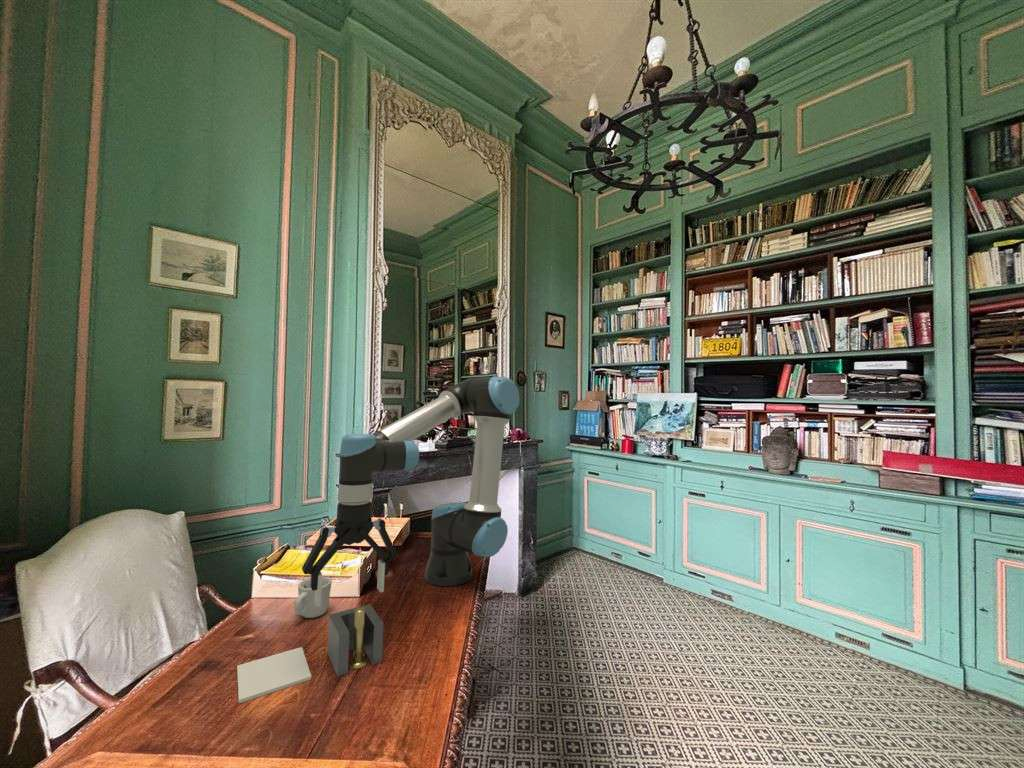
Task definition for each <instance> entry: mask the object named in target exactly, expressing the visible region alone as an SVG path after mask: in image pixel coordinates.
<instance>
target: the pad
mask: <svg viewBox="0 0 1024 768" xmlns="http://www.w3.org/2000/svg"><path fill="white" fill-rule="evenodd" d="M236 670H237V671H236V673H237V676H236V677H237V695H238V696H237V698H238V704H241V703H245V702H247V701H251V700H253V699H256V698H259V697H263V696H265V695H268V694H271V693H274V692H277V691H280V690H283V689H284V690H285V689H287V688H290V687H293V686H296V685H298V684H301V683H305V682H308V681H310V680H312V674H311V671H310V668H309V664H308V662H307V659H306V656H305V651H304V648H303V647H302V646H300V647H298V648H297V647H296V648H294V649H289V650H286V651H283V652H281V653H280V652H279V653H277V654H273V655H269V656H266V657H263V658H259V659H255V660H252V661H248V662H245V663H242V664H237V666H236Z"/></svg>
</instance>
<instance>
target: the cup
mask: <svg viewBox="0 0 1024 768" xmlns="http://www.w3.org/2000/svg"><path fill="white" fill-rule="evenodd" d="M332 583H333V582H332V579H331V578H330V577H329V576H323V575H322V591H321V606H320V607H317V606H316V604H315V590H314V591H312V589H311V587H310V584H311V577H308V578H305V579H303V580H302V581H300V582H299V583H298V585H297V592H298V593H297V594H298V596H297V597H296V599H295V602H294V606H293V607H294V609H293V610H294V613H295V614H296V615H299V616H301V617H303V618H305V619H314V618H318V617H320V616H322V615H324V614H325V613H326V612H327V611H328V608H329V603H330V602H329V601H330V595H331V590H332V589H331V588H332Z"/></svg>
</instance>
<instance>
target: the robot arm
mask: <svg viewBox="0 0 1024 768" xmlns="http://www.w3.org/2000/svg"><path fill="white" fill-rule="evenodd" d="M519 406H520V392H519V389H518V387H517V386H516V383H515V382H514V381H513V380H512V379H511V378H509V377H507V376H499V375H498V376H497V375H496V376H484V377H471V378H467V379H464V380H462V381H460V382H458V383H456V384H454V385H452V386H450V387H449V388H447V389H445V390H443V391H441V392H440V393H439V396H438V397H437V398H435V399H433V400H432V401H430V402H428V403H426V404H424V405H423V406H420V407H419V408H417V409H416V410H414V411H412V412H410V413H408V414H406V415H405V416H402V417H401V418H399V419H398V420H395V421H393V422H392V423H390V424H388V425H386V426H385V427H383V428H381V429H379V430H378V431H376V432H373V433H347V434H345V435H344V436H343V437H342V438H341V443H340V449H339V473H338V474H339V475H338V479H339V480H338V491H337V492H338V493H337V501H338V503H337V505H336V508H337V509H336V522H335V524H334V526H327V525H325V524H323V525H322V526H320V530H319V536H318V538H317V539H316V541H315V543H314V545H313V547H312V549H311V550H310V553H309V554H308V555H307V557H306V560H305V561H304V563H303V565H302V567H301V570H302V573H303V574H304V575H310V578H311V584H310V587H311V589H312V591H314V590H315V604H316V606H317V607H320V606H321V591H322V576H323V574H322V572H321V571H322V570H323V569H324V568H325V567H326V566H327V564H329V562H330V561H331V559H332V558H333V556H334V555H335V554H337V552H338V550H340V549H341V548H342V547H343V545H346V546H348V545H349V546H350V545H353V544H361V543H362V542H363V541H365V542H366V543H367V544H368V546H370V547H371V548H372V549H373V550H374V552H375V553H376V554H377V555H378V557H380V558H381V559H378V561H377V580H376V581H377V582H376V589H377V590H378V591H379V593H384V591H385V576H388V575H389V567H390V563H391V561H392V559H395V558H398V553H397V550H396V548H395V547H394V544H393V543H392V540H391V537H390V536H389V534H388V532H387V530H386V521H385V520H384V519H382V518H377V520H372V516H373V515H372V514H373V513H372V512H373V502H372V499H374V498H373V496H374V493H373V492H374V476H375V474H381V473H392V472H405V471H410V470H413V469H414V468H416V467H417V465H419V464H418V463H419V462H420V448H419V447H418V445H417V444H416V443H415V442H414V441H415V440H417V439H418V438H420V437H421V436H423V435H424V434H426V433H428V432H430V431H431V430H432V429H434V428H435V427H438V426H439V425H441V424H443V423H445V422H446V421H447V420H449V419H456V418H458V417H460V416H462V415H465V414H472V413H473V416H472V417H473V419H474V421H475V422H476V423H477V424H476V435H475V442H474V443H475V444H474V445H475V446H474V454H473V463H472V472H471V479H470V480H471V481H470V491H469V500H468V502H463V501H458V502H457V501H456V502H447V503H441V504H438V505H435V506H434V507H433V508H432V512H431V513H432V514H431V518H430V519H431V536H430V537H431V538H430V539H431V541H430V543H431V545H430V549H431V550H430V555H429V558H428V560H427V563H426V567H425V571H424V580H425V581H426V582H427V583H428V584H430V585H433V586H437V587H454V586H459V585H463V584H465V582H466V583H467V581H468V580H469V581H471V579H472V578H473V566H472V563H471V559H470V555H469V553H471V554H473V555H475V556H477V557H482V558H483V557H484V558H491V557H494V556H496V554H498V553H499V552H500V551H501V549H502V548H503V547H504V546H505V543H506V541H507V537H508V531H509V529H508V524H507V523H506V521H505V520H504V519H503V518H502V508H501V507H500V506H499V504H498V497H499V488H500V487H499V486H500V477H501V466H502V455H503V446H504V435H505V426H506V424H508V423H510V421H511V415H512V414H513V413H515V412H517V409H518V408H519ZM373 528H374V529H376V530H377V532H378V533H379V535H380V538H381V539H382V542H383V544H384V546H385V548H386V550H387V553H386V552H385V551H384V550H383V549H382V547H380V545H379V544H378V543H377V542H376V541H375V540H374V539H373V537H372V536H370V532H371V531H372V529H373ZM332 534H335V535H336V536H335V538H334V539H332V540H333V541H332V542H331V544H330V545H329V546H328V547H327V549H326V550H325V551H324V552H323V554H322V555H321V556H320V557H319V555H320V554H321V552H322V550H323V548H324V546H325V545H326V542H327V541H328V538H330V537H331V536H332ZM471 577H472V578H471ZM469 581H468V582H469Z"/></svg>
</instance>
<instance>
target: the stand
mask: <svg viewBox="0 0 1024 768" xmlns="http://www.w3.org/2000/svg"><path fill="white" fill-rule="evenodd" d="M364 621H365V609H364V608H358V609H356V610H355V622H354V648H353V649H352V651H353V652H352V654H353V655H352V658H351V659H349V660H348V668H349V669H352V670H359V669H363V667H365V666H366V665H367V664H368V657H366V656H365V655H364Z"/></svg>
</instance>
